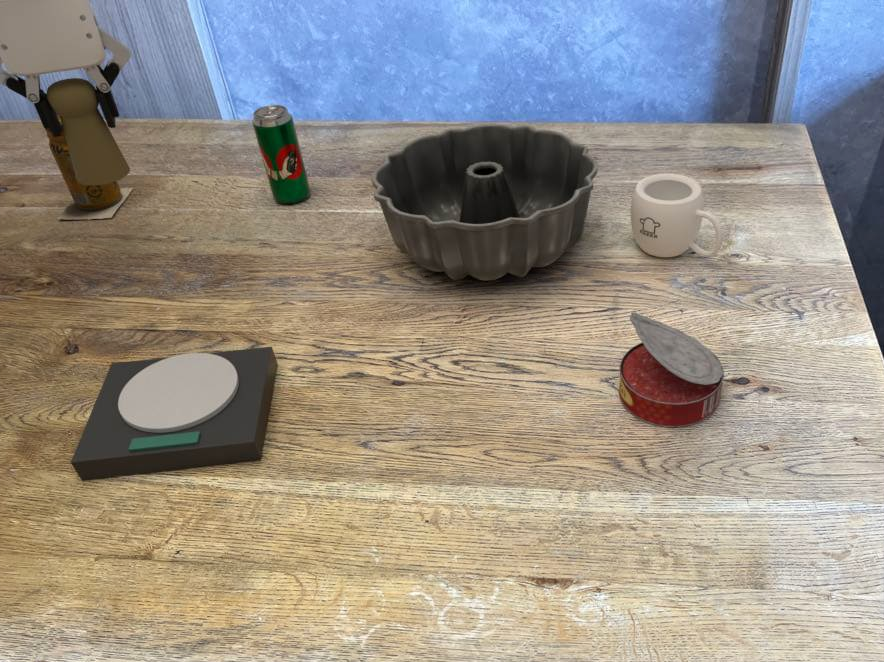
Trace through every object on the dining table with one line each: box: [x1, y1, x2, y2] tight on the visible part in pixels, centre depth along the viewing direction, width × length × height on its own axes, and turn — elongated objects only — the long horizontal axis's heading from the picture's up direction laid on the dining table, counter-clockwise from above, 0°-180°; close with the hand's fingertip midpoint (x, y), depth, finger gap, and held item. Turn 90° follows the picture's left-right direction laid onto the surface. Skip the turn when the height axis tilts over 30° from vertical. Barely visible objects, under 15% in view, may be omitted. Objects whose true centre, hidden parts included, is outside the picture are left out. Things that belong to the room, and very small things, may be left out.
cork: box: [46, 77, 131, 186], centre depth 95 cm, size 6×6×11 cm
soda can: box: [252, 104, 311, 205], centre depth 108 cm, size 5×5×12 cm
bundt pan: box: [370, 123, 599, 281], centre depth 98 cm, size 26×26×10 cm
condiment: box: [44, 113, 134, 221], centre depth 109 cm, size 7×8×12 cm
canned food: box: [618, 312, 725, 428], centre depth 78 cm, size 11×10×10 cm
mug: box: [630, 173, 723, 258], centre depth 96 cm, size 12×8×8 cm
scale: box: [70, 346, 278, 481], centre depth 78 cm, size 16×14×3 cm
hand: (84, 126), depth 94 cm, fingers closed on cork, 5 cm apart
